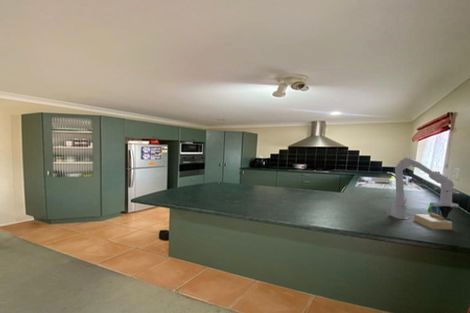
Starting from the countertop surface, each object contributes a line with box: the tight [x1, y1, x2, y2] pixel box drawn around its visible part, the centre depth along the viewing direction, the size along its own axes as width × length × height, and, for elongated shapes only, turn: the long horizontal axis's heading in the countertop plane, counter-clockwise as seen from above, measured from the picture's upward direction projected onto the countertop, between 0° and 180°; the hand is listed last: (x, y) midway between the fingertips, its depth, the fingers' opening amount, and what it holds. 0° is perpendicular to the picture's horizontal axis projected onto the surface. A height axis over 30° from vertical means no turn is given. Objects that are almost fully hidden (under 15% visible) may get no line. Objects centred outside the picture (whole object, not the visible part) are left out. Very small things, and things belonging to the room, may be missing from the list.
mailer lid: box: [413, 213, 453, 224], centre depth 153 cm, size 16×12×3 cm
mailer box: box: [413, 214, 453, 230], centre depth 154 cm, size 16×12×4 cm
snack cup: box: [427, 202, 446, 220], centre depth 170 cm, size 16×10×10 cm
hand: (444, 217), depth 153 cm, fingers closed
